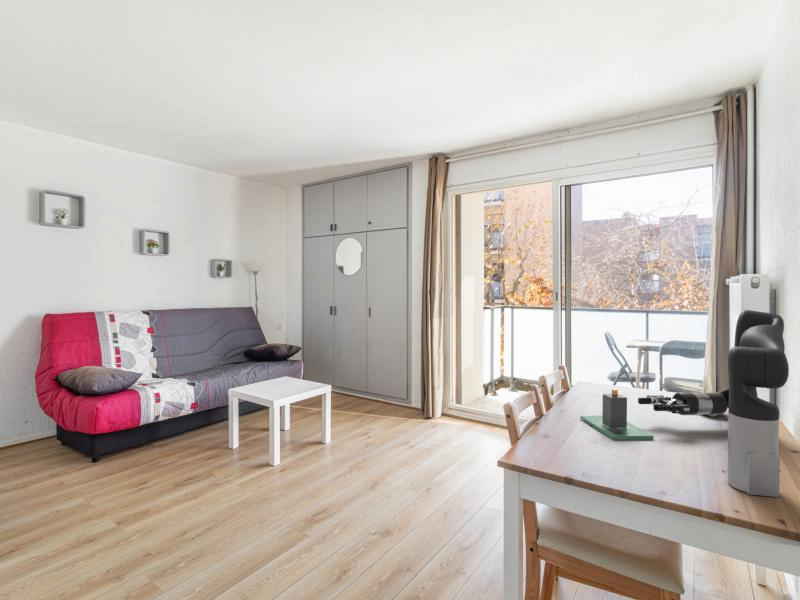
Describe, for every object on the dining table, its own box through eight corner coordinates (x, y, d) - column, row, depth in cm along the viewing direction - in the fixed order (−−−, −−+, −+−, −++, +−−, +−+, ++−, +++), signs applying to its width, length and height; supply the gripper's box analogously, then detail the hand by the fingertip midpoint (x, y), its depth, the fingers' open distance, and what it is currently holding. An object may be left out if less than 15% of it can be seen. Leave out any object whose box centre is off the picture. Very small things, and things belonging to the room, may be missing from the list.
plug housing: (626, 427, 141) (627, 391, 141) (610, 427, 141) (611, 391, 141) (617, 422, 147) (617, 388, 146) (602, 422, 146) (602, 388, 146)
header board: (653, 439, 133) (653, 426, 133) (613, 440, 133) (613, 426, 132) (615, 418, 155) (615, 407, 155) (580, 419, 155) (580, 407, 154)
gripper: (677, 388, 152) (633, 388, 151) (708, 397, 138) (659, 398, 137) (677, 408, 152) (633, 409, 151) (708, 420, 138) (659, 421, 137)
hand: (646, 404), depth 144 cm, fingers open, 8 cm apart
